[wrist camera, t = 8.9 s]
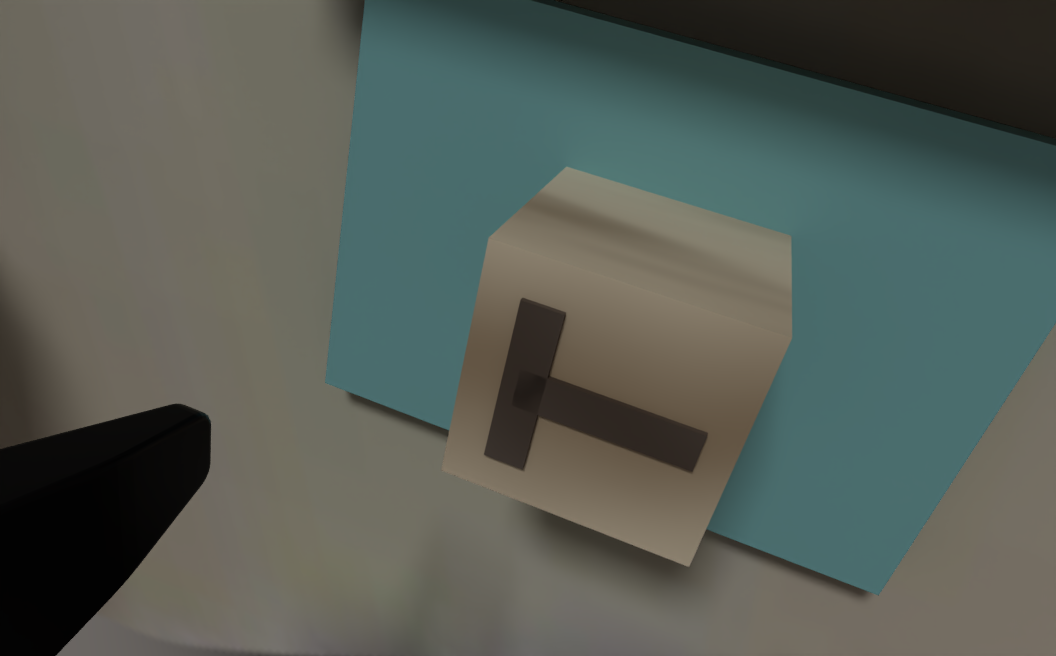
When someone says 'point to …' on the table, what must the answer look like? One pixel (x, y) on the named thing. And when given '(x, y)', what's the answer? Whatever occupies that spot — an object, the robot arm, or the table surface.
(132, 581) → the table surface
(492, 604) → the table surface
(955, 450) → the display plate
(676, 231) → the maple cube
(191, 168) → the table surface
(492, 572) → the table surface
